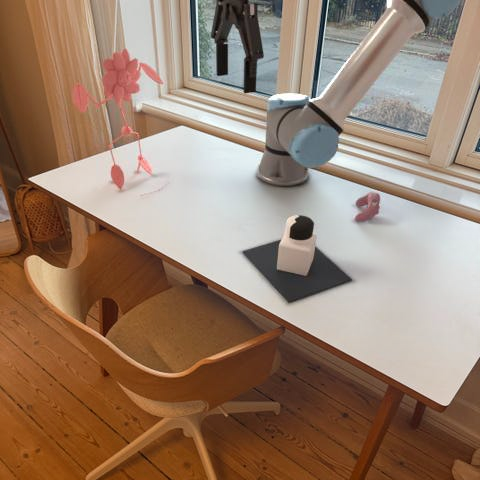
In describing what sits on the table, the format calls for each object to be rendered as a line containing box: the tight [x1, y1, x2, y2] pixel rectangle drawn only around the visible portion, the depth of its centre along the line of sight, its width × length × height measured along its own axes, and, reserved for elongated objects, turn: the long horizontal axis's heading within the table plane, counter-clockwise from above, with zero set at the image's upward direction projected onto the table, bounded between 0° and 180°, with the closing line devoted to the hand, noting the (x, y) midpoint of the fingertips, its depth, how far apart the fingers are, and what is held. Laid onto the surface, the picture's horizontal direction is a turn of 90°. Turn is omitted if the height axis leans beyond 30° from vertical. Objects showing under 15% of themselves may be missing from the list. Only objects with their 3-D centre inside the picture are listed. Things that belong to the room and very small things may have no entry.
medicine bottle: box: [277, 214, 318, 276], centre depth 105 cm, size 7×7×12 cm
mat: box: [242, 239, 353, 304], centre depth 110 cm, size 17×21×1 cm
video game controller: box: [354, 191, 381, 223], centre depth 126 cm, size 10×5×7 cm, turn 168°
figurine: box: [71, 48, 169, 197], centre depth 126 cm, size 15×26×35 cm, turn 138°
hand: (235, 83), depth 108 cm, fingers open, 13 cm apart
